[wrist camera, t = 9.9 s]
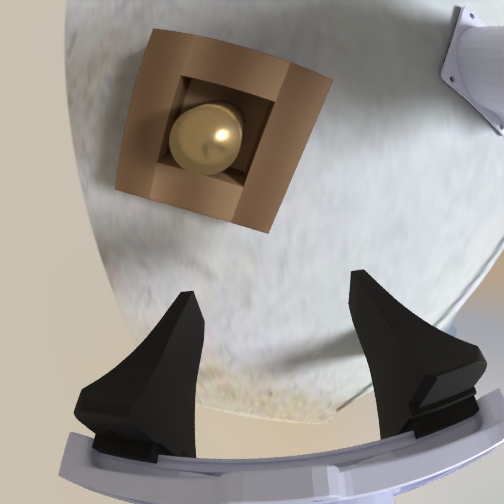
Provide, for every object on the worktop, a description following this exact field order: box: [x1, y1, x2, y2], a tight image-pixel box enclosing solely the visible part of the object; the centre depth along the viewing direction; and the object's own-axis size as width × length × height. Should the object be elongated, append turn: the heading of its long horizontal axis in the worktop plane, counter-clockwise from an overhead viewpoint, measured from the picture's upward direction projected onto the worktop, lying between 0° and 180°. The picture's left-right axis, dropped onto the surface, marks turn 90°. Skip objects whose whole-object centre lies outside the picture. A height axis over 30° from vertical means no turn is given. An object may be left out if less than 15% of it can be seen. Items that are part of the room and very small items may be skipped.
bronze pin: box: [169, 100, 244, 175], centre depth 14 cm, size 3×3×6 cm
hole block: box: [115, 29, 333, 234], centre depth 16 cm, size 10×10×4 cm
